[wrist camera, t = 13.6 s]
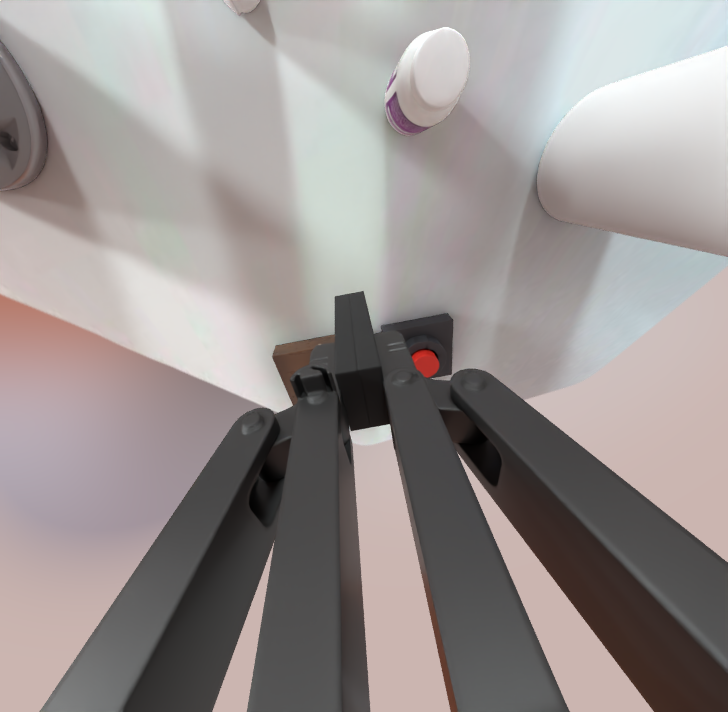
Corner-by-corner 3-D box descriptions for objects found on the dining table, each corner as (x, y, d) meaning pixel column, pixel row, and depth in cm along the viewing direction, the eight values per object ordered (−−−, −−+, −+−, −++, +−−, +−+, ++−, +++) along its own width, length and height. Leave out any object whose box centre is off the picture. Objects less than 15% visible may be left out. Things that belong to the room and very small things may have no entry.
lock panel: (296, 397, 47) (294, 410, 44) (274, 342, 40) (270, 353, 38) (377, 382, 46) (379, 394, 44) (367, 324, 40) (369, 335, 38)
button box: (388, 377, 46) (392, 393, 43) (381, 325, 40) (385, 339, 37) (447, 366, 46) (455, 381, 43) (447, 313, 40) (457, 325, 37)
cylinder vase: (674, 85, 28) (1643, -164, 7) (612, 220, 35) (1014, 290, 14) (558, 82, 27) (1289, -212, 6) (518, 221, 34) (804, 298, 13)
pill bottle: (436, 131, 28) (476, 115, 20) (386, 140, 28) (406, 127, 20) (437, 57, 25) (485, 4, 17) (381, 66, 25) (402, 17, 17)
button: (409, 373, 41) (412, 380, 40) (407, 351, 39) (410, 358, 38) (435, 368, 41) (439, 375, 40) (435, 346, 39) (439, 353, 38)
